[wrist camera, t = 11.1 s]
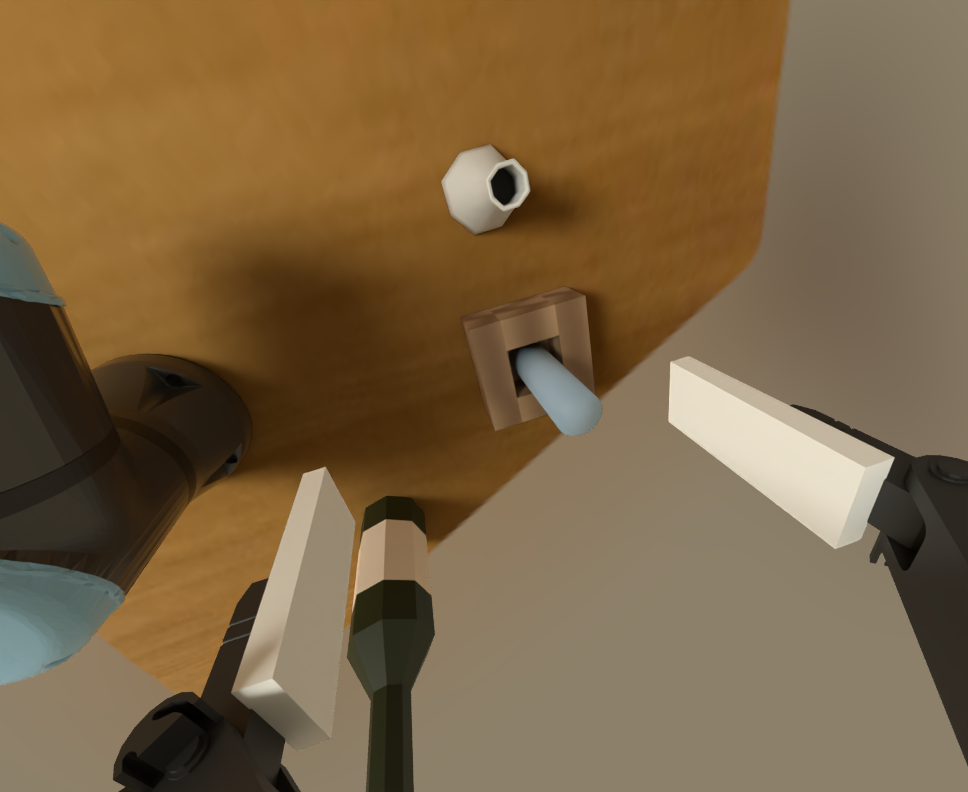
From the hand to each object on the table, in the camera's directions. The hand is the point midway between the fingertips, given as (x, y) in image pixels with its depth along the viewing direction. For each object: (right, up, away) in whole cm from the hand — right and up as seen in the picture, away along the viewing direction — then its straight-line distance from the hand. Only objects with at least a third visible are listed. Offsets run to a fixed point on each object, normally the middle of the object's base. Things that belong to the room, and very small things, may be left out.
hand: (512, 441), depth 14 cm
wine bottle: (-13, -15, +37) cm, 42 cm away
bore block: (+4, +7, +29) cm, 30 cm away
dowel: (+4, +6, +29) cm, 30 cm away
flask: (-1, +21, +22) cm, 30 cm away
